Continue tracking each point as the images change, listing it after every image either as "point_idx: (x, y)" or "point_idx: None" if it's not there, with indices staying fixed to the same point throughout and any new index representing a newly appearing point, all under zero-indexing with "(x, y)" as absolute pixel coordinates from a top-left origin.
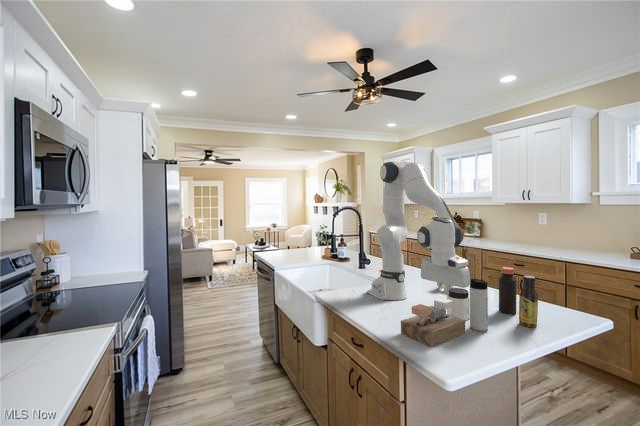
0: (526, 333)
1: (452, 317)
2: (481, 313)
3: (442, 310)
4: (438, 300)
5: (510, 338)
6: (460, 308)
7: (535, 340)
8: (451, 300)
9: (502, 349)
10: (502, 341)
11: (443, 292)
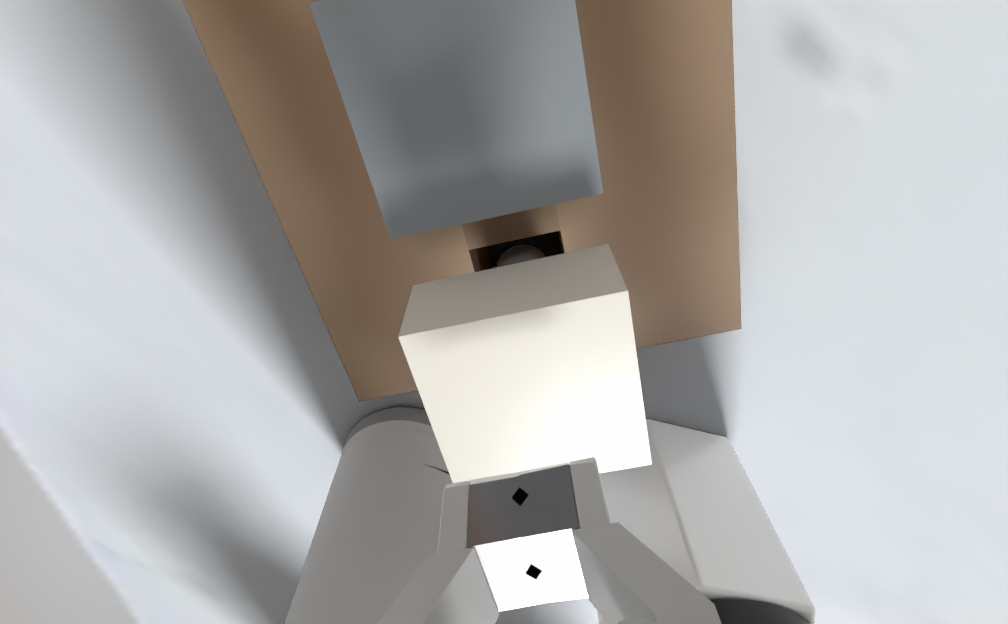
0: (272, 615)
1: None
2: (305, 561)
3: (393, 229)
4: (573, 342)
5: (224, 510)
6: None
7: (174, 588)
8: None
9: (61, 358)
10: (188, 444)
11: (504, 501)
